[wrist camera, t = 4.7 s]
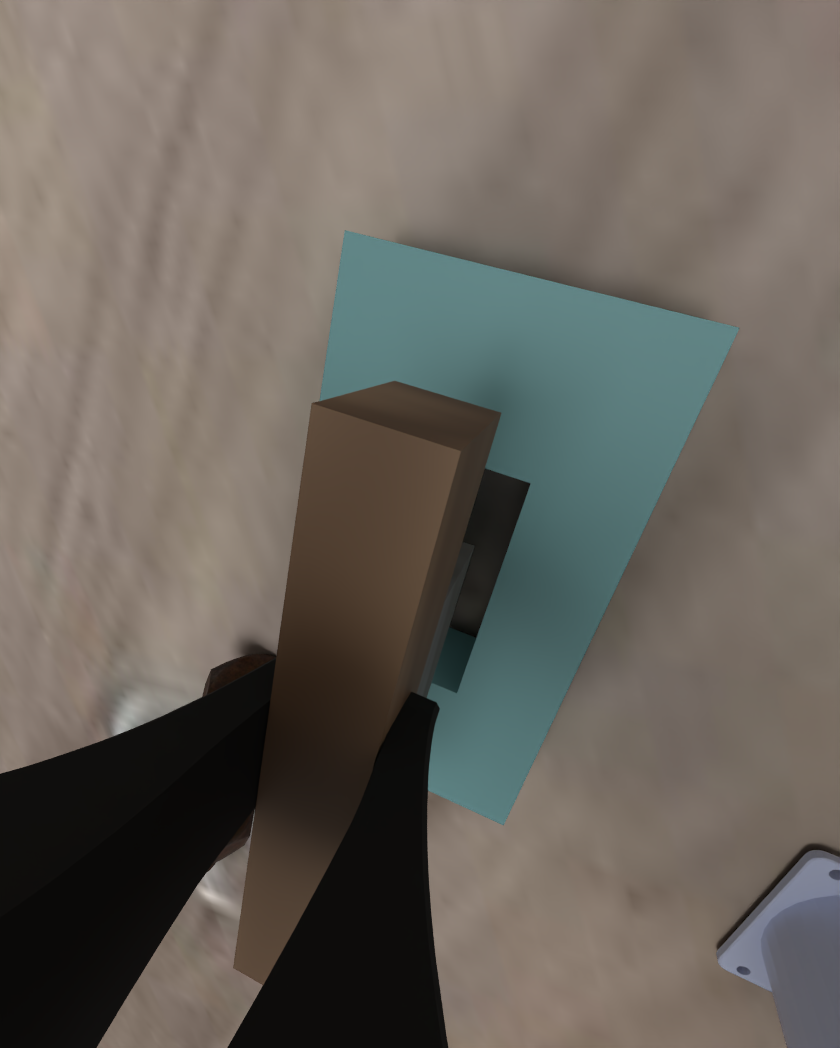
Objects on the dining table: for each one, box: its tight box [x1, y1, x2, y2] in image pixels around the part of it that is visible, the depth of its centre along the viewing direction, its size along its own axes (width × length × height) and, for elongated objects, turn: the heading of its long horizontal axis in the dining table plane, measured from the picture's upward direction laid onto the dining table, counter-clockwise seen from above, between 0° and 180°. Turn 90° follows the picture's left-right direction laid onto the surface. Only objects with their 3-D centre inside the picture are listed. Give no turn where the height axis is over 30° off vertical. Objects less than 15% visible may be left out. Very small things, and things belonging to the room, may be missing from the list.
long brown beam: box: [233, 381, 501, 985], centre depth 12 cm, size 2×14×6 cm, turn 166°
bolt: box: [202, 654, 275, 872], centre depth 26 cm, size 6×5×15 cm
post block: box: [320, 230, 739, 825], centre depth 18 cm, size 10×18×4 cm, turn 166°
